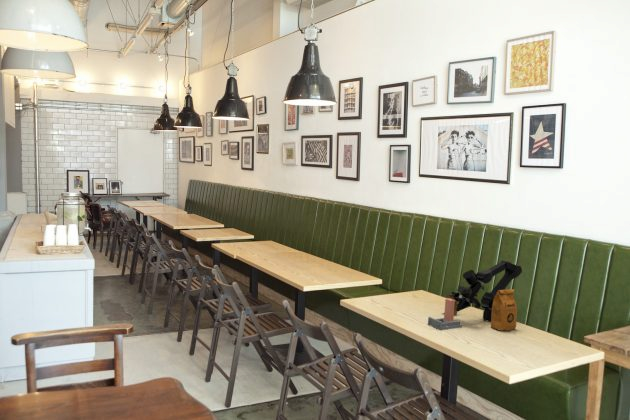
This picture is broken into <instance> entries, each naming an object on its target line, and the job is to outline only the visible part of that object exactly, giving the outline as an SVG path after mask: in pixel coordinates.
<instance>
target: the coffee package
mask: <svg viewBox="0 0 630 420" xmlns="http://www.w3.org/2000/svg"><path fill="white" fill-rule="evenodd" d="M514 293H515V289H504V290H498V292H497V294H496V296H495V298H494V300H493V305H492V314H491V321H490V327H491V328H492V329H494V330H495V329H496V330H498V331H511V330H512V331H513V330H515V329H516V328H517V316H518V307H517V302H516V301H515V298H514Z"/></svg>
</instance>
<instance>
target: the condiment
mask: <svg viewBox="0 0 630 420" xmlns="http://www.w3.org/2000/svg"><path fill="white" fill-rule="evenodd" d="M448 298H450V299H453V300H455V299H454V298H453V297H452V295H451V293H449V294H448ZM448 298H447V299H448ZM457 305H458V301H456V300H455V304H454V317H457V316H459V315H461V314H459V313H458V312H457V311H456V308H457ZM444 313H445V312H443V313H441V314H442V315H444Z"/></svg>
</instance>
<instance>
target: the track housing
mask: <svg viewBox="0 0 630 420" xmlns="http://www.w3.org/2000/svg"><path fill="white" fill-rule="evenodd" d="M427 318H428V319H427V325H428V326H430V327H433V328H435V329H437V330H439V331H444V330H451V329H460V328H462V327H463V325H462V324H461V321H460V320H455V321H454V320H453V321H454V322H446V323H444V322H443V319H444V317H440V318H433V317H431V316H428V317H427Z"/></svg>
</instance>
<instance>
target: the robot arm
mask: <svg viewBox="0 0 630 420" xmlns="http://www.w3.org/2000/svg"><path fill="white" fill-rule="evenodd" d="M502 272H504V274H503V276H502V277H501V278H500V280H499V281H497V284H496V285H495V286H494V287H493V288H492V290H491V291H489V292H488V291H486V292H485V293H484V294H483V295H482V296H481V298H480V301H479V300H478V298H477V297H478V294H479V292H481V290H483V291H484V290H485V285H487V284H488V283H490V282H491V281H492V280H493V278H494V277H495V276H497V275H498V274H500V273H502ZM522 273H523V269H522V266H521V265H518V264H513V263H512V262H510V261H508V260H503V259H502V260H501V261H500V262H498V263H497V264H495V265H493V266H492V267H489V268H488V269H485V270H479V271H478V272H475V271H474V270H473V269H469V270H467V271H465V272H463V274H462V278H463V279H464V281H465V282H466V283H467V285H469V286H466V287H465V286H462V285H458V287H457V288H456V291H452V292H451V293H450V294H451V295H452V297H453V298H454V299H455V300H456V301H458V305H457V308H456V311H457V313H458V312H460V311H462V310H464V309H467V308H471V307H472V305H474V308H476V309H478V310H479V309H480V308H482V309H484V310H483V312H482V320H483V321H485V322H491V314H492V305H493V300H494V298H495V296H496V294H497V292H498V290H506V288H507V287H508V286H509V284H510V283H511V282H512V280H514V279H517V278H518V277H519V276H521V274H522ZM484 284H485V285H484Z"/></svg>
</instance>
